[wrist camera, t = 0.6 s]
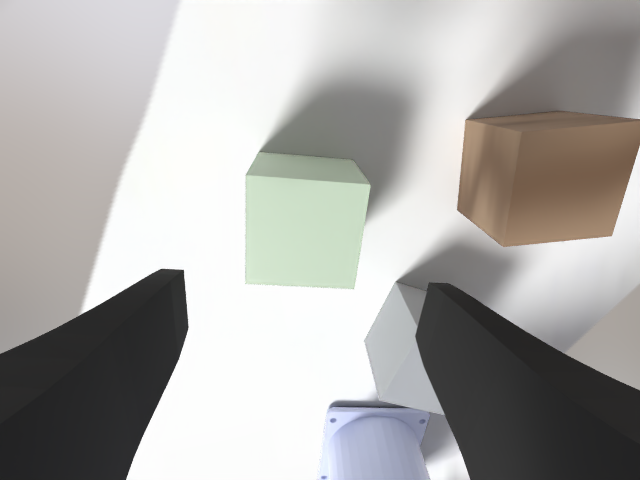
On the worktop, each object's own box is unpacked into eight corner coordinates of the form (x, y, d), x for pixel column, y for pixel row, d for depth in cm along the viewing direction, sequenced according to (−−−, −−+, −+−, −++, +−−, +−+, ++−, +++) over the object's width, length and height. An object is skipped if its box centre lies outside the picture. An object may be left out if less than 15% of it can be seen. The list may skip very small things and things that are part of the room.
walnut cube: (540, 201, 20) (611, 236, 15) (456, 209, 20) (503, 246, 15) (559, 110, 18) (647, 120, 13) (464, 119, 18) (521, 132, 13)
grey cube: (427, 356, 25) (456, 418, 20) (364, 339, 24) (379, 400, 19) (461, 301, 23) (502, 355, 18) (394, 281, 22) (420, 333, 17)
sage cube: (341, 243, 20) (354, 288, 16) (257, 238, 20) (245, 283, 15) (352, 159, 18) (370, 184, 14) (259, 151, 18) (245, 175, 13)
